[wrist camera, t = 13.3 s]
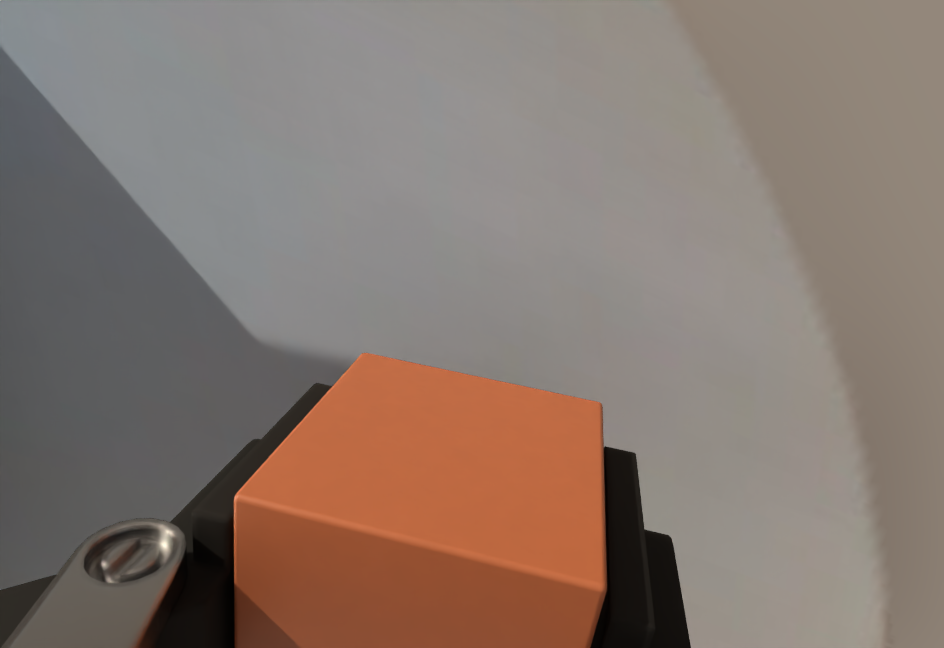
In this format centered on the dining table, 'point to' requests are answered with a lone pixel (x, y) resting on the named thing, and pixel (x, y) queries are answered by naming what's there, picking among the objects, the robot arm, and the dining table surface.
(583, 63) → the dining table surface
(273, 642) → the block
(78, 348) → the dining table surface
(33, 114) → the dining table surface
